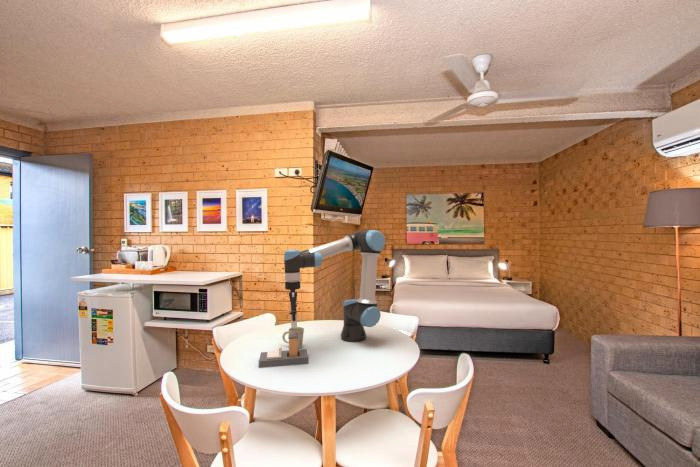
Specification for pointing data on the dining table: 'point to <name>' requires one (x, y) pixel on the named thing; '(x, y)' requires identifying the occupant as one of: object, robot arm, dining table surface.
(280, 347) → the panel
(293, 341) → the plug
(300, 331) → the mug
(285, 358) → the socket
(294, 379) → the dining table surface
